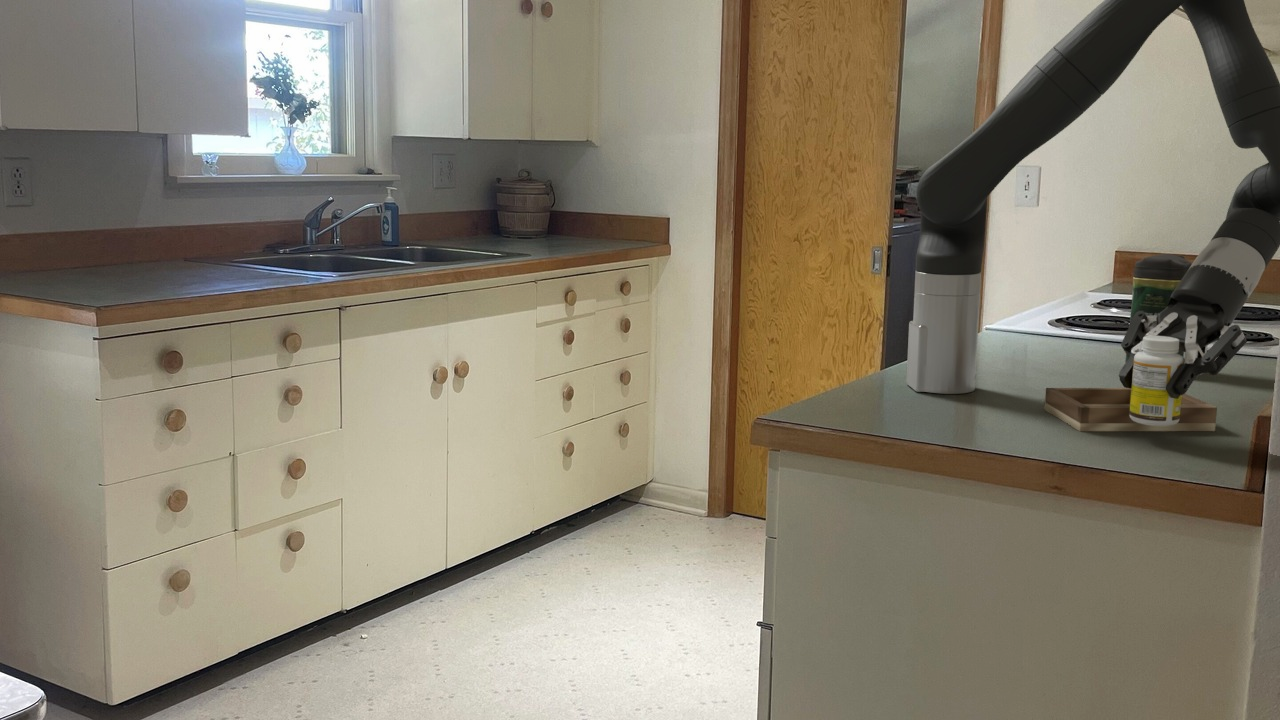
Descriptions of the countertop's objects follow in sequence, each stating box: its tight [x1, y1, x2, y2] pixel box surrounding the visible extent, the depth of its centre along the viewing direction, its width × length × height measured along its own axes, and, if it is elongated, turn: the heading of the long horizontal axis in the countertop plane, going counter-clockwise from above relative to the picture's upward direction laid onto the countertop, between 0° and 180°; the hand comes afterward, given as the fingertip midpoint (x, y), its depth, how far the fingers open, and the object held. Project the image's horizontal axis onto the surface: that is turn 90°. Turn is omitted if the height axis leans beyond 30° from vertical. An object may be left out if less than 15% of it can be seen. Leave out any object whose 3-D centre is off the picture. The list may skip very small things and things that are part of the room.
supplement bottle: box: [1129, 336, 1185, 426], centre depth 135 cm, size 6×6×10 cm
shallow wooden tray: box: [1044, 387, 1218, 432], centre depth 147 cm, size 17×12×3 cm
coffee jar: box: [1124, 253, 1193, 364], centre depth 179 cm, size 10×8×19 cm
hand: (1147, 388), depth 134 cm, fingers closed on supplement bottle, 5 cm apart
